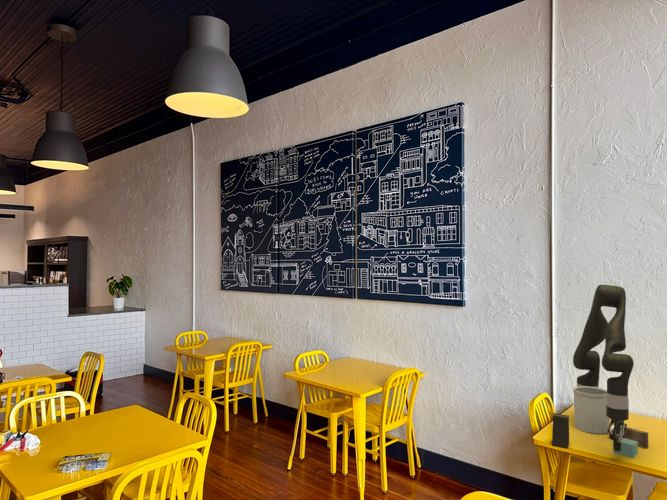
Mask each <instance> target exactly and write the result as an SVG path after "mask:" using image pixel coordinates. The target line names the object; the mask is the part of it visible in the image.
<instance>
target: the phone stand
mask: <svg viewBox="0 0 667 500" xmlns="http://www.w3.org/2000/svg"><path fill="white" fill-rule="evenodd" d="M551 435H552V436H551V437H552V439H551V442H552V443H551V446H552V447H558V448H562V449H569V445H570V415H568V414H561V413H555V412H553V413H552V434H551Z"/></svg>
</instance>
